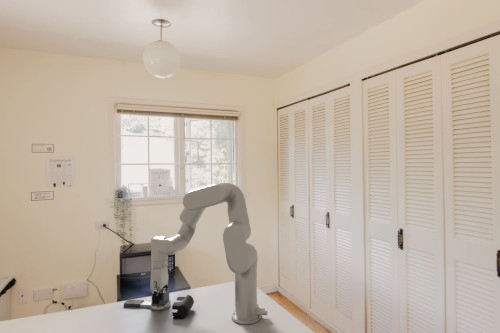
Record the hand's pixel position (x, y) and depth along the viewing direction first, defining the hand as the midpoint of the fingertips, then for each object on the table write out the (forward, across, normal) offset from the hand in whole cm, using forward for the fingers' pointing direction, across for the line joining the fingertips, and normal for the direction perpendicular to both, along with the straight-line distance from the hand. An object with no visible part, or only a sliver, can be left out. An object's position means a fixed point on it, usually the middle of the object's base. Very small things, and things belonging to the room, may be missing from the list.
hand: (160, 299), depth 141 cm
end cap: (+4, +6, +14) cm, 15 cm away
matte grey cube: (+2, 0, 0) cm, 2 cm away
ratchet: (+4, 0, -7) cm, 7 cm away
